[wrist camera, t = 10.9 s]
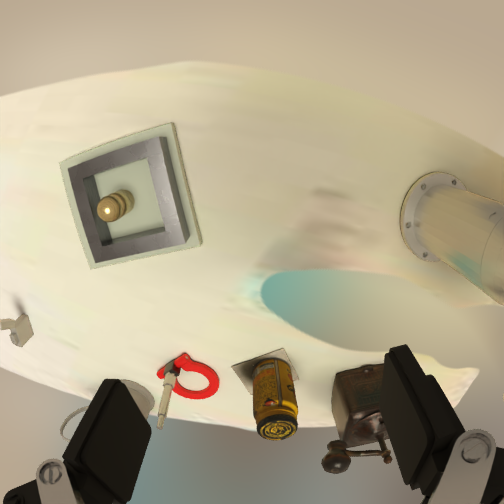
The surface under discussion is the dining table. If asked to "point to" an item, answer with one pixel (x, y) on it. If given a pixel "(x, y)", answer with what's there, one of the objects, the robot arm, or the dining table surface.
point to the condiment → (271, 393)
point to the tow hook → (171, 384)
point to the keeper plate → (134, 194)
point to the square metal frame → (165, 192)
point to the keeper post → (115, 205)
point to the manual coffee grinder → (356, 417)
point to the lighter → (18, 329)
